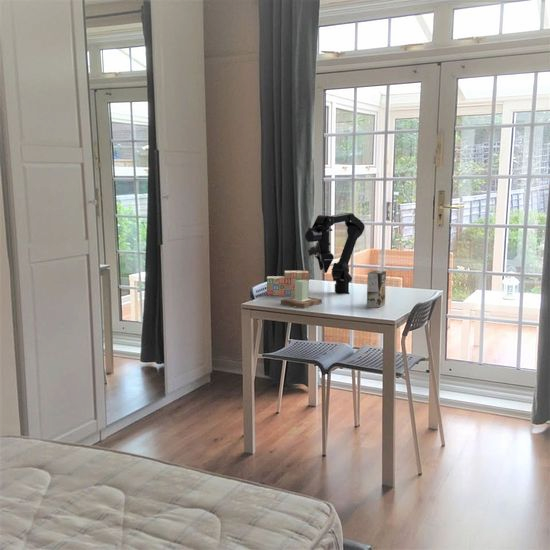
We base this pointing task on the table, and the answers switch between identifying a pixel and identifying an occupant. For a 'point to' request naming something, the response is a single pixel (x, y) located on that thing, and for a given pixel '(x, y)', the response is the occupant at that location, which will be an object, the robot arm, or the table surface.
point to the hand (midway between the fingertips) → (323, 271)
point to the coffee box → (376, 288)
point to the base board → (301, 302)
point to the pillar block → (301, 290)
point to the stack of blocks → (285, 283)
